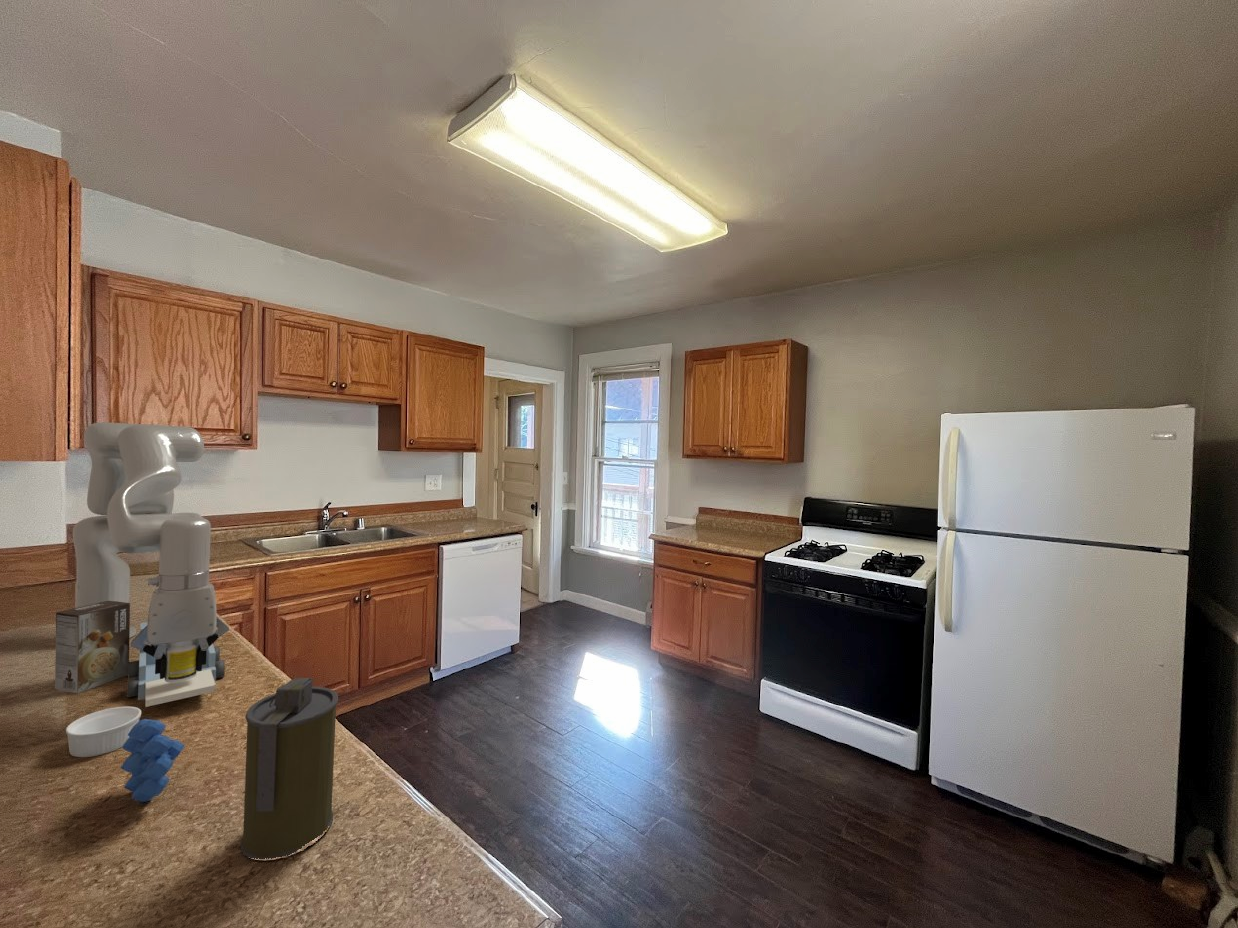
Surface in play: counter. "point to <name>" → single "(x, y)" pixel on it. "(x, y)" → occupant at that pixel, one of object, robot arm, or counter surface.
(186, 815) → the counter surface
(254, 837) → the canister
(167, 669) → the supplement bottle
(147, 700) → the panel
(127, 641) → the coffee box
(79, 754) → the ramekin
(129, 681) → the pale blue toy cart
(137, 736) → the grapes
